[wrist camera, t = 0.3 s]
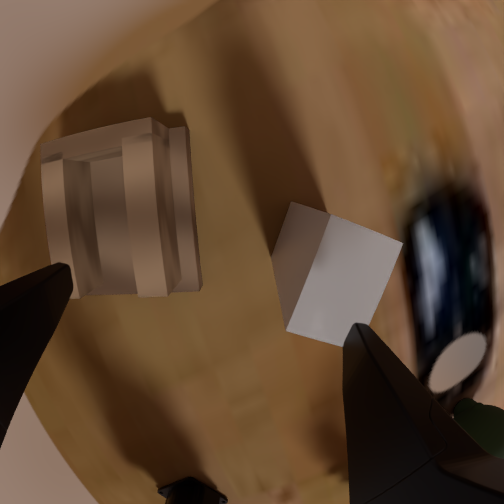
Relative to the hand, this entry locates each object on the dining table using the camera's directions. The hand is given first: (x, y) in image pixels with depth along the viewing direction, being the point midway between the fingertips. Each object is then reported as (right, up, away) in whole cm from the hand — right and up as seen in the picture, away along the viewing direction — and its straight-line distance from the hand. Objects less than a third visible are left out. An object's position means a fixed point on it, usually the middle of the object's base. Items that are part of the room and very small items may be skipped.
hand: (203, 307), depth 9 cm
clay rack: (-8, +5, +15) cm, 17 cm away
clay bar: (+5, +3, +15) cm, 16 cm away
